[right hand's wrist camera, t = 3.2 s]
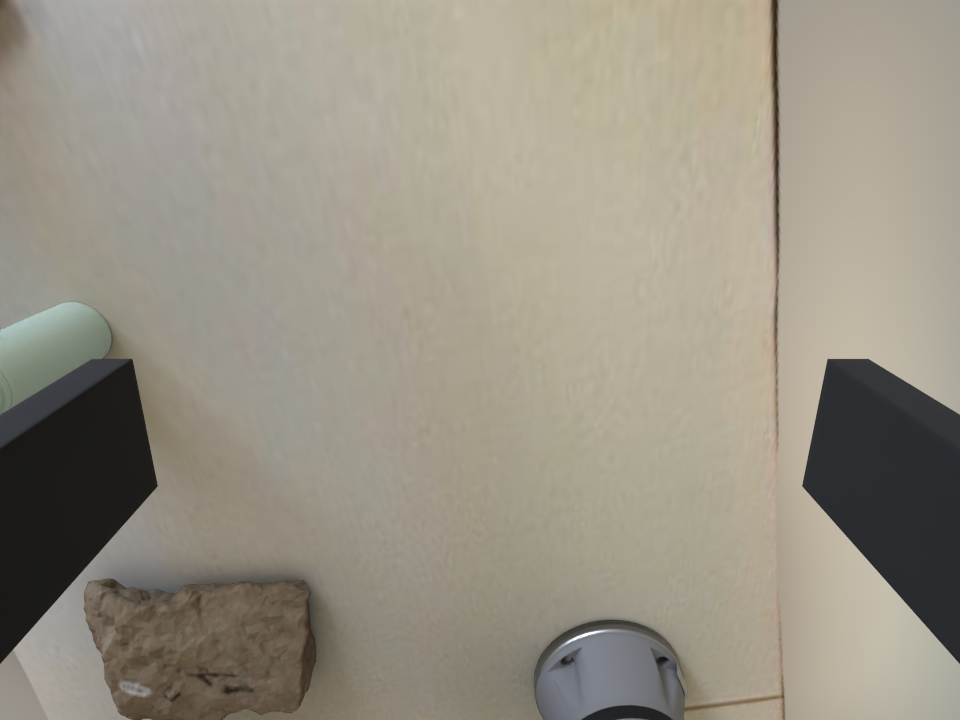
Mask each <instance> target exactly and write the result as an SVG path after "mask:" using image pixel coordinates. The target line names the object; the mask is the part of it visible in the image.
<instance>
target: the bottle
mask: <svg viewBox="0 0 960 720" xmlns="http://www.w3.org/2000/svg"><path fill="white" fill-rule="evenodd" d="M111 341H112V337H111V331H110V328H109V326H108V324H107V322H106V321H105V319H104V318H103V317H102V316H101V315H100V314H99V313H98V312H97V311H96V310H94V309H93V308H91V307H89V306H87V305H85V304H81V303H77V302H66V303H62V304H59V305H57V306H54V307H52V308H50V309H48V310H45V311H43V312H41V313H38V314H36V315H34V316H31V317H29V318H27V319H24V320H22V321H20V322H17V323H15V324H13V325H10V326H8V327H6V328H4V329H1V330H0V415H1V414H2V413H4V412H6V411H7V410H9V409H11V408H12V407H14V406H15V405H17V404H19V403H20V402H22V401H24V400H25V399H27V398H29V397H30V396H32V395H34V394H35V393H37V392H38V391H40V390H42V389H43V388H45V387H47V386H48V385H50V384H52V383H53V382H55V381H57V380H58V379H60V378H61V377H63V376H65V375H66V374H68V373H70V372H71V371H73V370H75V369H76V368H78V367H79V366H81V365H83V364H84V363H86V362H88V361H89V360H91V359H102V358H104V357H105V356H106V355H107V353H108V352H109V349H110V347H111Z"/></svg>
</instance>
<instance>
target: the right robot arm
mask: <svg viewBox="0 0 960 720" xmlns="http://www.w3.org/2000/svg"><path fill="white" fill-rule="evenodd" d="M157 486H158V485H157V480H156V475H155V470H154V465H153V460H152V455H151V450H150V445H149V440H148V435H147V430H146V425H145V420H144V415H143V410H142V405H141V400H140V395H139V390H138V385H137V380H136V375H135V370H134V365H133V360H132V359H91V360H89V361H88V362H86V363H84V364H83V365H81V366H79V367H78V368H76V369H75V370H73V371H71V372H70V373H68V374H66V375H65V376H63V377H61V378H60V379H58V380H57V381H55V382H53V383H52V384H50V385H48V386H47V387H45V388H43V389H42V390H40V391H38V392H37V393H35V394H34V395H32V396H30V397H29V398H27V399H25V400H24V401H22V402H20V403H19V404H17V405H15V406H14V407H12V408H11V409H9V410H7V411H6V412H4V413H2V414H1V415H0V663H1V662H2V661H3V660H4V659H5V658H6V657H7V656H8V654H9V653H10V652H11V651H12V650H13V649H14V648H15V647H16V645H17V644H18V643H19V642H20V641H21V640H22V639H23V638H24V636H25V635H26V634H27V633H28V632H29V631H30V630H31V628H32V627H33V626H34V625H35V624H36V623H37V622H38V621H39V619H40V618H41V617H42V616H43V615H44V614H45V613H46V612H47V610H48V609H49V608H50V607H51V606H52V605H53V604H54V603H55V601H56V600H57V599H58V598H59V597H60V596H61V595H62V594H63V592H64V591H65V590H66V589H67V588H68V587H69V586H70V584H71V583H72V582H73V581H74V580H75V579H76V578H77V577H78V575H79V574H80V573H81V572H82V571H83V570H84V569H85V568H86V566H87V565H88V564H89V563H90V562H91V561H92V560H93V559H94V557H95V556H96V555H97V554H98V553H99V552H100V551H101V550H102V548H103V547H104V546H105V545H106V544H107V543H108V542H109V541H110V539H111V538H112V537H113V536H114V535H115V534H116V533H117V531H118V530H119V529H120V528H121V527H122V526H123V525H124V524H125V522H126V521H127V520H128V519H129V518H130V517H131V516H132V515H133V513H134V512H135V511H136V510H137V509H138V508H139V507H140V506H141V504H142V503H143V502H144V501H145V500H146V499H147V498H148V497H149V495H150V494H151V493H152V492H153V491H154V490H155V489H156V487H157ZM803 487H804V489H805V490H806V491H807V492H808V493H809V494H810V495H811V496H812V498H813V499H814V500H815V501H816V502H817V503H818V504H819V506H820V507H821V508H822V509H823V510H824V511H825V512H826V513H827V515H828V516H829V517H830V518H831V519H832V520H833V521H834V522H835V523H836V525H837V526H838V527H839V528H840V529H841V530H842V531H843V533H844V534H845V535H846V536H847V537H848V538H849V539H850V540H851V542H852V543H853V544H854V545H855V546H856V547H857V548H858V549H859V551H860V552H861V553H862V554H863V555H864V556H865V557H866V558H867V560H868V561H869V562H870V563H871V564H872V565H873V566H874V568H875V569H876V570H877V571H878V572H879V573H880V574H881V575H882V577H883V578H884V579H885V580H886V581H887V582H888V583H889V584H890V586H891V587H892V588H893V589H894V590H895V591H896V592H897V594H898V595H899V596H900V597H901V598H902V599H903V600H904V601H905V603H906V604H907V605H908V606H909V607H910V608H911V609H912V610H913V612H914V613H915V614H916V615H917V616H918V617H919V618H920V619H921V621H922V622H923V623H924V624H925V625H926V626H927V627H928V628H929V630H930V631H931V632H932V633H933V634H934V635H935V636H936V638H937V639H938V640H939V641H940V642H941V643H942V644H943V645H944V646H945V648H946V649H947V650H948V651H949V652H950V653H951V654H952V656H953V657H954V658H955V659H956V660H957V661H958V662H959V663H960V415H959V414H958V413H956V412H954V411H953V410H951V409H949V408H948V407H946V406H945V405H943V404H941V403H940V402H938V401H936V400H935V399H933V398H931V397H930V396H928V395H926V394H925V393H923V392H922V391H920V390H918V389H917V388H915V387H913V386H912V385H910V384H908V383H907V382H905V381H903V380H902V379H900V378H899V377H897V376H895V375H894V374H892V373H890V372H889V371H887V370H885V369H884V368H882V367H880V366H879V365H877V364H876V363H874V362H872V361H871V360H869V359H828V360H827V365H826V370H825V375H824V380H823V385H822V390H821V395H820V400H819V405H818V410H817V415H816V420H815V425H814V430H813V435H812V440H811V445H810V450H809V455H808V460H807V465H806V470H805V475H804V480H803ZM534 686H535V696H536V703H537V706H538V709H539V711H540V713H541V716H542V718H543V720H684V699H685V694H686V697H687V699H688V688H687V685H686V683H685V680H684V675H683V672H682V669H681V666H680V663H679V661H678V658H677V656H676V653H675V651H674V650H673V648H672V647H671V645H670V644H669V643H668V642H667V641H666V640H665V639H664V638H663V637H662V636H661V635H659V634H658V633H656V632H655V631H653V630H651V629H649V628H647V627H645V626H642V625H640V624H636V623H633V622H628V621H620V620H604V621H596V622H591V623H587V624H584V625H581V626H578V627H575V628H573V629H571V630H569V631H567V632H565V633H564V634H562V635H561V636H559V637H558V638H557V639H555V640H554V641H553V642H552V643H551V644H550V645H549V646H548V647H547V648H546V649H545V651H544V652H543V654H542V655H541V657H540V659H539V661H538V663H537V666H536V669H535V675H534Z"/></svg>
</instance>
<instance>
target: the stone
mask: <svg viewBox="0 0 960 720" xmlns="http://www.w3.org/2000/svg"><path fill="white" fill-rule="evenodd" d="M310 594H311V592H310V588H309V586H308V585H307V583H306V582H305V581H293V582H291V581H282V582H275V583H269V584H260V583H252V582H249V581H244V582H240V583H233V584H231V585H226V586H219V585H215V584H210V585H196V584H192V585H184V586H182V588H181V589H180V591H179V592H178V593H176V594H173V593H167V592H164V591H161V590H151V591H145V590H143V589H137V588H133V587H131V588H125V587H123V586H122V585H121V584H120V583H118V582H117V581H116V580H114V579H104V580H99V581H89V582H88V584H87V587H86V589H85V591H84V600H85V605H84V610H85V613H86V621H87V623H88V625H89V629H90V631H91V632H92V635H93V640H94V642H95V644H96V648H97V649H98V650H99V651H100V652H101V654H102V660H103V662H104V670H105V681H106V683H107V685H108V686H109V688H110V690H111V694H112V698H113V701H114V703H115V704H116V707H117V709H118V712H119V713H120V715H123V716H125V717H127V718H129V719H132V720H141V719H146V718H150V719H152V720H223V719H224V717H226V716H227V715H228V714H230V713H235V712H238V711H240V710H242V709H249V710H252V711H255V712H257V713H258V714H260V715H262V714H265V713H267V712H272V711H282V712H284V713H292V712H294V711H296V710H297V709H298V708H299V707H300V705H301V701H302V700H303V697H304V694H305V692H307V691H308V689H309V686H310V680H311V675H312V671H313V667H314V664H315V659H316V651H315V640H314V638H313V635H312V633H311V630H310V615H309V603H308V598H309V596H310Z"/></svg>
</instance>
